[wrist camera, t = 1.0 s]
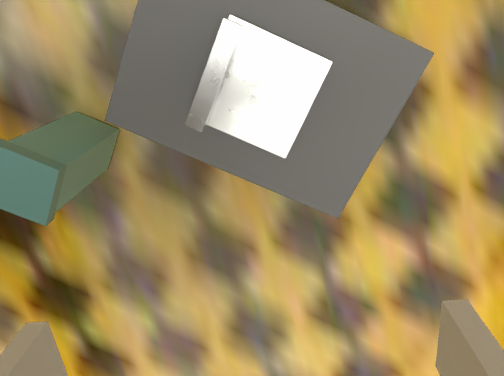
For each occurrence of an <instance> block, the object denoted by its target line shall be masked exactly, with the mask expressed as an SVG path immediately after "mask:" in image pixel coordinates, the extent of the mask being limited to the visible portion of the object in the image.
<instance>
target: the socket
mask: <svg viewBox="0 0 504 376" xmlns="http://www.w3.org/2000/svg"><path fill="white" fill-rule="evenodd" d="M230 15H233V16H235V17H237V18H239V19H241V20H243V21H246V22H248V23H250V24H252V25H254V26H256V27H259V28H261V29H263V30H265V31H267V32H269V33H272V34H274V35H276V36H278V37H280V38H282V39H285V40H287V41H289V42H291V43H293V44H295V45H298V46H300V47H302V48H304V49H306V50H308V51H311V52H313V53H315V54H317V55H319V56H321V57H323V58H326V59H328V60H330V61H332V64H331V66H330V68H329V70H328V72H327V74H326V76H325V78H324V81H323V83H322V85H321V87H320V89H319V91H318V93H317V95H316V97H315V99H314V101H313V103H312V105H311V107H310V109H309V111H308V113H307V115H306V117H305V120H304V122H303V124H302V126H301V128H300V130H299V132H298V134H297V136H296V138H295V140H294V142H293V144H292V146H291V148H290V150H289V152H288V154H287V156H286V158H283V157H281V156H279V155H276V154H274V153H272V152H269V151H267V150H265V149H262V148H260V147H258V146H255V145H253V144H251V143H248V142H246V141H244V140H241V139H239V138H237V137H234V136H232V135H230V134H227V133H225V132H223V131H220V130H218V129H216V128H214V127H211V126H209V125H206V127H205V128H204V130H203V131H202V132H200V131H197V130H195V129H193V128H190V127H188V126H186V125H185V122H186V120H187V117H188V114H189V111H190V109H191V106H192V103H193V100H194V98H195V95H196V92H197V89H198V87H199V84H200V81H201V78H202V76H203V73H204V70H205V67H206V65H207V62H208V59H209V56H210V54H211V51H212V48H213V45H214V43H215V40H216V37H217V34H218V32H219V29H220V26H221V23H222V21H223V18H227V19H229V16H230ZM433 55H434V52H431V51H429V50H427V49H425V48H423V47H421V46H419V45H417V44H415V43H413V42H411V41H408V40H406V39H404V38H402V37H400V36H398V35H396V34H394V33H392V32H390V31H388V30H385V29H383V28H381V27H379V26H377V25H375V24H373V23H371V22H369V21H367V20H365V19H362V18H360V17H358V16H356V15H354V14H352V13H350V12H348V11H346V10H344V9H342V8H340V7H337V6H335V5H333V4H331V3H329V2H327V1H325V0H138V3H137V6H136V10H135V14H134V17H133V21H132V24H131V28H130V31H129V35H128V39H127V42H126V46H125V49H124V53H123V57H122V60H121V64H120V67H119V71H118V75H117V78H116V82H115V85H114V89H113V93H112V96H111V100H110V103H109V107H108V111H107V114H106V118H105V121H106V122H109V123H111V124H114V125H116V126H118V127H121V128H123V129H126V130H128V131H130V132H133V133H135V134H137V135H140V136H142V137H145V138H147V139H149V140H152V141H154V142H157V143H159V144H161V145H164V146H166V147H168V148H171V149H173V150H176V151H178V152H180V153H183V154H185V155H188V156H190V157H192V158H195V159H197V160H199V161H202V162H204V163H207V164H209V165H211V166H214V167H216V168H219V169H221V170H223V171H226V172H228V173H230V174H233V175H235V176H238V177H240V178H242V179H245V180H247V181H250V182H252V183H254V184H257V185H259V186H261V187H264V188H266V189H269V190H271V191H273V192H276V193H278V194H281V195H283V196H285V197H288V198H290V199H292V200H295V201H297V202H300V203H302V204H304V205H307V206H309V207H312V208H314V209H316V210H319V211H321V212H323V213H326V214H328V215H331V216H333V217H335V218H339V216H340V214H341V212H342V211H343V209H344V207H345V206H346V204H347V202H348V200H349V199H350V197H351V195H352V194H353V192H354V190H355V188H356V187H357V185H358V183H359V182H360V180H361V178H362V176H363V175H364V173H365V171H366V170H367V168H368V166H369V164H370V163H371V161H372V159H373V157H374V156H375V154H376V152H377V151H378V149H379V147H380V145H381V144H382V142H383V140H384V139H385V137H386V135H387V133H388V132H389V130H390V128H391V127H392V125H393V123H394V121H395V120H396V118H397V116H398V115H399V113H400V111H401V109H402V108H403V106H404V104H405V103H406V101H407V99H408V97H409V96H410V94H411V92H412V91H413V89H414V87H415V85H416V84H417V82H418V80H419V79H420V77H421V75H422V73H423V72H424V70H425V68H426V67H427V65H428V63H429V61H430V60H431V58H432V56H433Z"/></svg>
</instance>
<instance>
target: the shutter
mask: <svg viewBox="0 0 504 376" xmlns="http://www.w3.org/2000/svg"><path fill="white" fill-rule="evenodd" d="M331 64H332V61H330V60H328V59H326V58H323V57H321V56H319V55H317V54H315V53H313V52H311V51H308V50H306V49H304V48H302V47H300V46H298V45H295V44H293V43H291V42H289V41H287V40H285V39H282V38H280V37H278V36H276V35H274V34H272V33H269V32H267V31H265V30H263V29H261V28H259V27H256V26H254V25H252V24H250V23H248V22H246V21H243V20H241V19H239V18H237V17H235V16H233V15H230V16H229V19H227V18H223V21H222V23H221V26H220V29H219V32H218V34H217V37H216V40H215V43H214V45H213V48H212V51H211V54H210V56H209V59H208V62H207V65H206V67H205V70H204V73H203V76H202V78H201V81H200V84H199V87H198V89H197V92H196V95H195V98H194V100H193V103H192V106H191V109H190V111H189V114H188V117H187V120H186V122H185V125H186V126H188V127H190V128H193V129H195V130H197V131H200V132H202V131H203V130H204V128H205V127H206V125H209V126H211V127H214V128H216V129H218V130H220V131H223V132H225V133H227V134H230V135H232V136H234V137H237V138H239V139H241V140H244V141H246V142H248V143H251V144H253V145H255V146H258V147H260V148H262V149H265V150H267V151H269V152H272V153H274V154H276V155H279V156H281V157H283V158H286V156H287V154H288V152H289V150H290V148H291V146H292V144H293V142H294V140H295V138H296V136H297V134H298V132H299V130H300V128H301V126H302V124H303V122H304V120H305V117H306V115H307V113H308V111H309V109H310V107H311V105H312V103H313V101H314V99H315V97H316V95H317V93H318V91H319V89H320V87H321V85H322V83H323V81H324V78H325V76H326V74H327V72H328V70H329V68H330V66H331Z"/></svg>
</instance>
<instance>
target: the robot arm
mask: <svg viewBox="0 0 504 376" xmlns="http://www.w3.org/2000/svg"><path fill="white" fill-rule="evenodd" d="M436 368H437V370H438V372H439V374H440V376H504V350H503V349H502V347H501V346H500V345H499V343H498V342H497V340H496V339H495V338H494V336H493V335H492V333H491V332H490V331H489V329H488V328H487V326H486V325H485V324H484V322H483V321H482V319H481V318H480V317H479V315H478V314H477V312H476V311H475V310H474V308H473V307H472V305H471V304H470V303H469V301H468V300H449V301H442V309H441V318H440V328H439V338H438V347H437V357H436ZM0 376H68V374H67V372H66V369H65V366H64V364H63V361H62V358H61V356H60V353H59V350H58V348H57V345H56V342H55V340H54V337H53V335H52V332H51V329H50V327H49V324H48V322H31V323H26V324H25V325H24V326H23V328H22V329H21V330H20V331H19V333H18V334H17V335H16V336H15V337H14V339H13V340H12V341H11V342H10V344H9V345H8V346H7V347H6V349H5V350H4V351H3V352H2V353H1V355H0Z"/></svg>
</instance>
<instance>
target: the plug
mask: <svg viewBox="0 0 504 376" xmlns="http://www.w3.org/2000/svg"><path fill="white" fill-rule="evenodd" d="M118 133H119V129H117V128H115V127H112V126H110V125H107V124H105V123H103V122H100V121H98V120H95V119H93V118H91V117H88V116H86V115H84V114H81V113H79V112H74V113H72V114H70V115H67V116H65V117H63V118H60V119H58V120H56V121H53V122H51V123H49V124H46V125H44V126H42V127H39V128H37V129H35V130H33V131H30V132H28V133H26V134H23V135H21V136H19V137H16V138H14V139H12V140H9V141H6V140H3V139H0V209H2V210H5V211H8V212H10V213H13V214H15V215H18V216H20V217H23V218H26V219H28V220H31V221H33V222H36V223H39V224H41V225H44V226H46V225H48V224H49V223H50V222H51V221H52V220H53V219H54V215H55V212H57V211H58V210H59V209H60V208H61V207H63V206H64V205H65V204H66V203H67V202H69V201H70V200H71V199H72V198H73V197H74V196H76V195H77V194H78V193H79V192H80V191H82V190H83V189H84V188H85V187H86V186H87V185H89V184H90V183H91V182H92V181H93V180H95V179H96V178H97V177H98V176H99V175H101V174H102V173H103V172H104V171H105V170H106V169H108V167H109V164H110V160H111V157H112V153H113V150H114V147H115V143H116V140H117V137H118Z"/></svg>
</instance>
